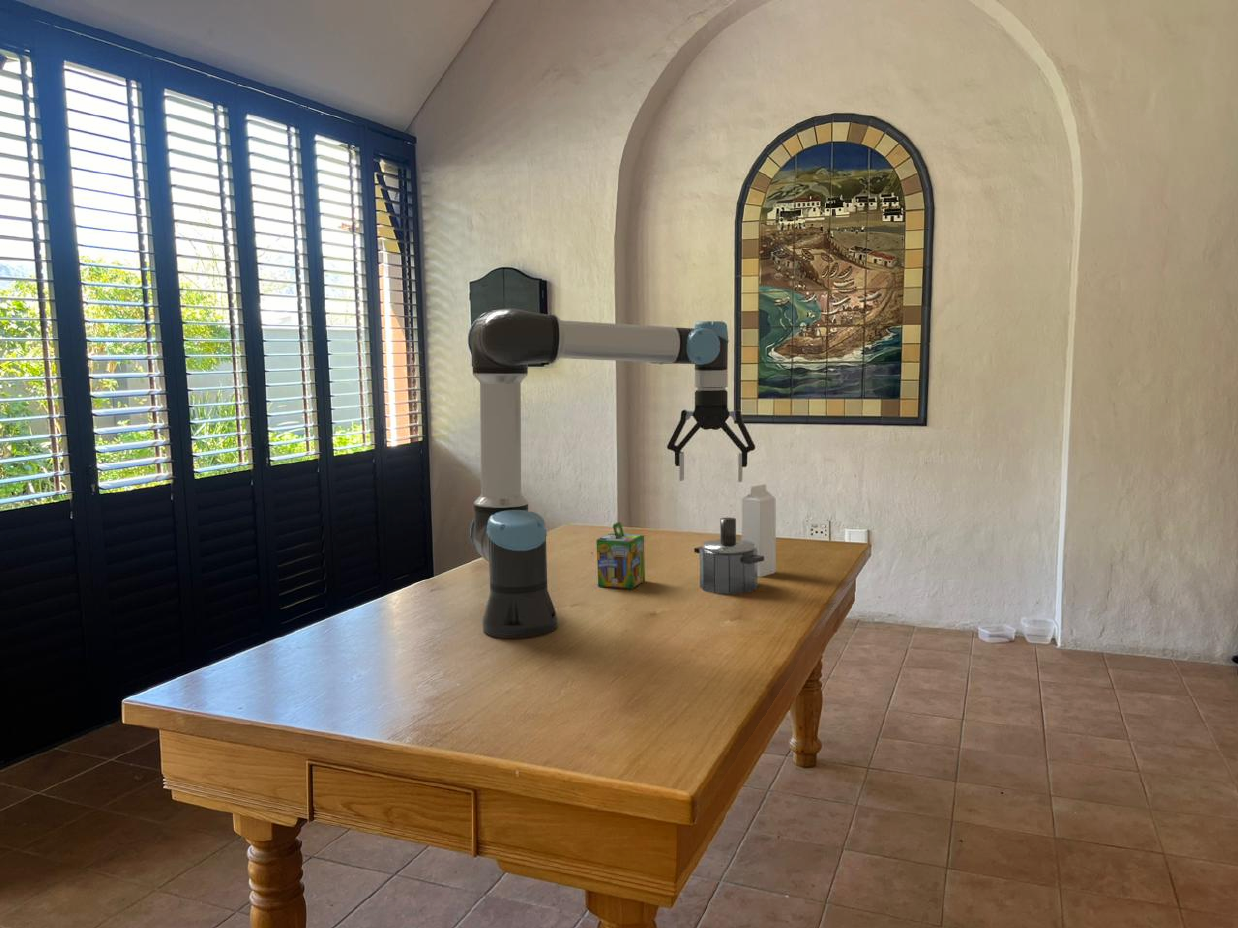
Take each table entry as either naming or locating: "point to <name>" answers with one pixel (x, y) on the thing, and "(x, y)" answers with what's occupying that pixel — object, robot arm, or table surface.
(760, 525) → the milk
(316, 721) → the table surface
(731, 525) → the lid
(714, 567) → the pot
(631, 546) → the chalk box
